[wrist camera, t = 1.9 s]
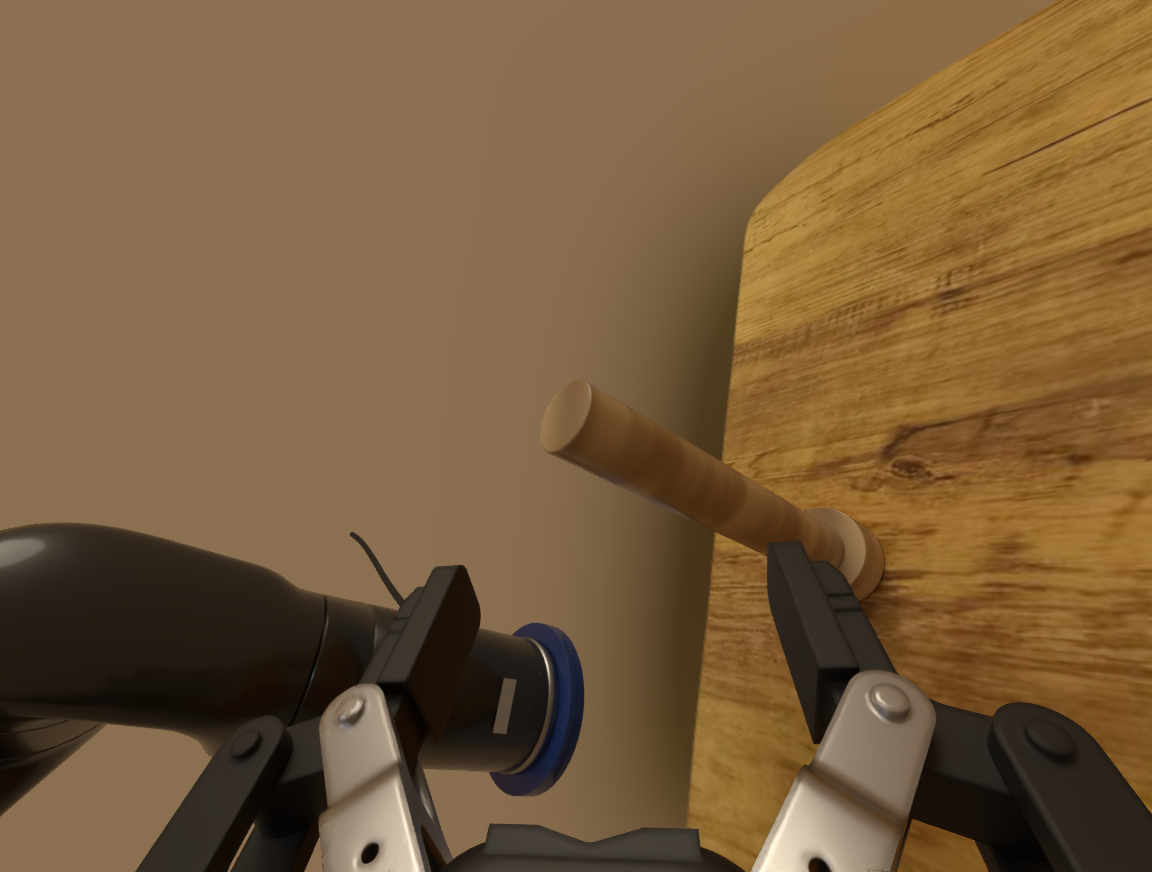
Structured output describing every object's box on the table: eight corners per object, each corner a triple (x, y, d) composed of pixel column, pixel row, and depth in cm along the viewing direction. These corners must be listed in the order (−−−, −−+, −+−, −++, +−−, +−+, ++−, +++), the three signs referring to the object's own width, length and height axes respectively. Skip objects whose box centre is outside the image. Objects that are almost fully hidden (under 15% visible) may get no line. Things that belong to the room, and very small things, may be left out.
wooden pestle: (803, 611, 25) (515, 498, 16) (789, 531, 28) (530, 390, 18) (896, 597, 22) (609, 449, 13) (871, 509, 25) (613, 328, 15)
